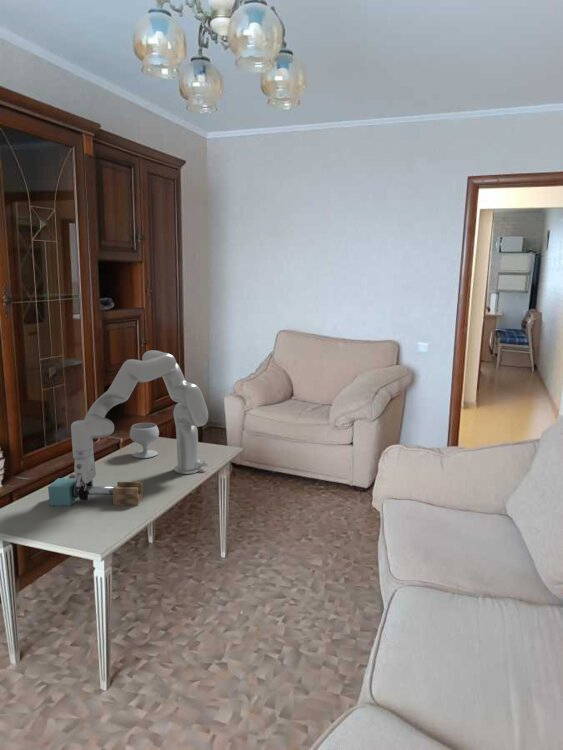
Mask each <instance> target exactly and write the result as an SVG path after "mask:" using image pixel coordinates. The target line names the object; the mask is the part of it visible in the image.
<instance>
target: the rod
mask: <svg viewBox="0 0 563 750" xmlns="http://www.w3.org/2000/svg"><path fill="white" fill-rule="evenodd" d="M83 487H84V486H83ZM113 487H120V486H108V485H106V486H101V485H98V486H96V485H95V486H94V485H93V486H86V490H87V494H88V496H113ZM71 489H72V496H73V497H74V498H77V499H79V491H78V488H77V487H76V484H74V485H73V486H72V487H71Z"/></svg>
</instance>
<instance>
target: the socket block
mask: <svg viewBox="0 0 563 750" xmlns="http://www.w3.org/2000/svg"><path fill="white" fill-rule="evenodd" d="M74 484H77V483H76V482H75V478H69V477H67V478H65V477H64V478H63V477H61V478H59V477H58V478H57V479H55V480H54V481H53V482H52V483H51V484H50V485H48V487H47V488H48V501H49V502H48V503H49V506H50V505H65V506H64V507H70V506H72V505H73V504H74V503H75V502H76V501H77V500H78V498H74V497H73V496H72V489H71V487H72V486H73V485H74ZM76 499H77V500H76ZM75 500H76V501H75ZM74 501H75V502H74ZM73 502H74V503H73ZM66 505H67V506H66Z"/></svg>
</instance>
